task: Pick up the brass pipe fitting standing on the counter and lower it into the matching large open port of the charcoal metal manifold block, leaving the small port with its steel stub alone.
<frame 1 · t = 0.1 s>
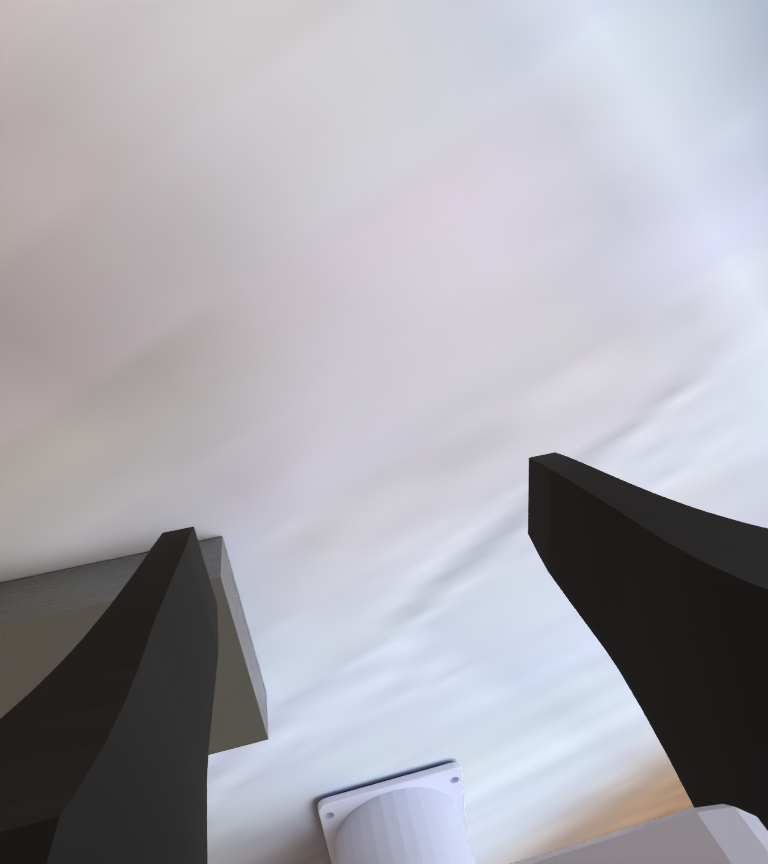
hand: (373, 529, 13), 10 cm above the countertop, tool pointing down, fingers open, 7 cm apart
manifold: (50, 665, 24), on the countertop
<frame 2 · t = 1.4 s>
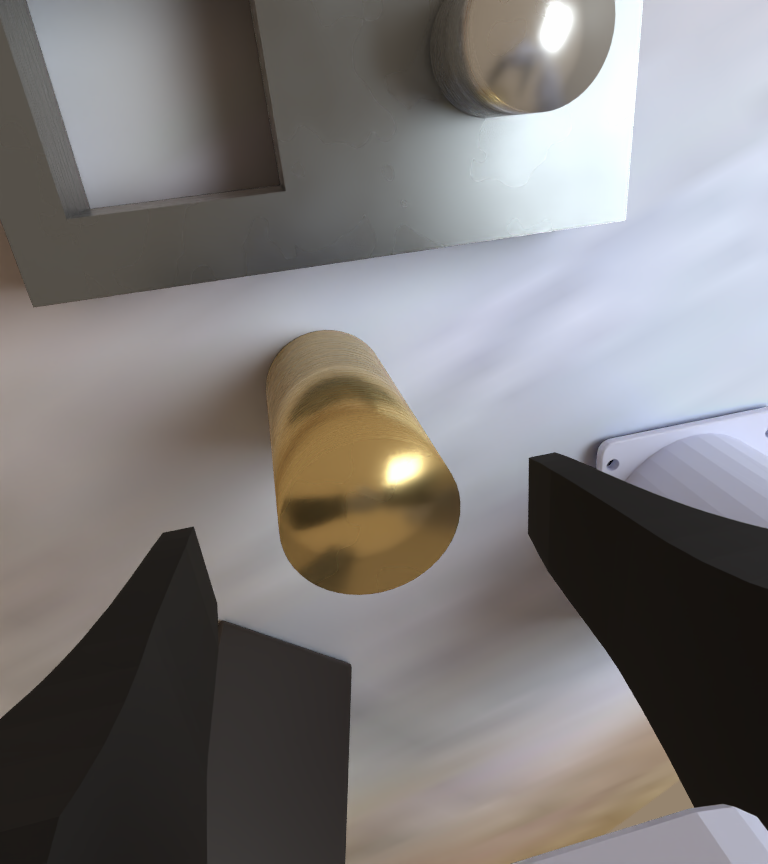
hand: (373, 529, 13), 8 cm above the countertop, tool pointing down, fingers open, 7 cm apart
manifold: (314, 74, 16), on the countertop
phone stand: (235, 708, 26), on the countertop
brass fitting: (326, 388, 20), on the countertop
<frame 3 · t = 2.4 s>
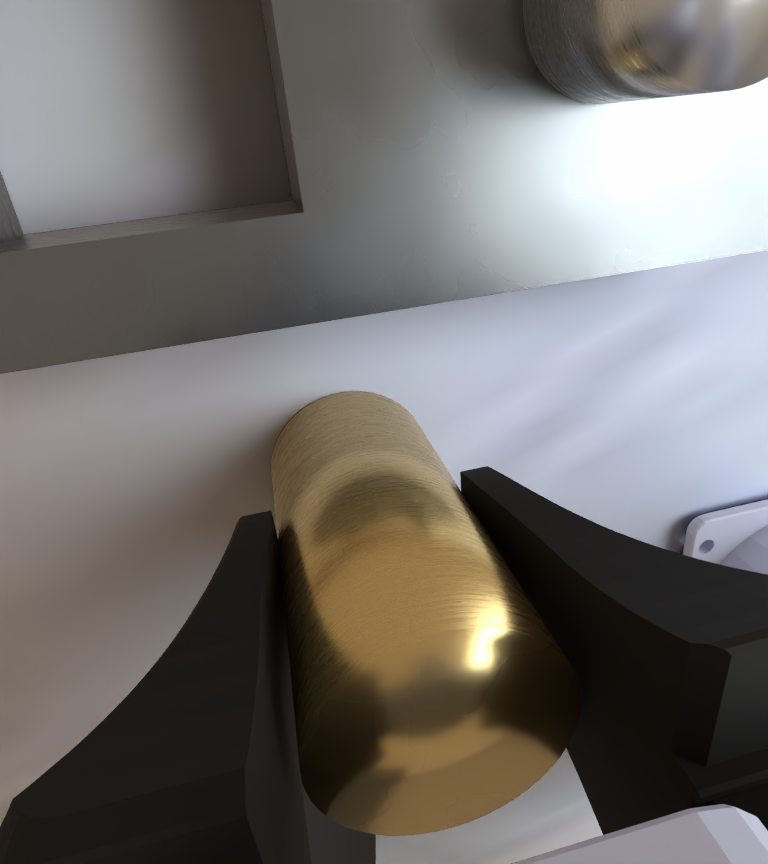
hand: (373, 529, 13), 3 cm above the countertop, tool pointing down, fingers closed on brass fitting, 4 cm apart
manifold: (342, 43, 11), on the countertop
phone stand: (232, 836, 21), on the countertop
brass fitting: (350, 464, 15), on the countertop, touching gripper
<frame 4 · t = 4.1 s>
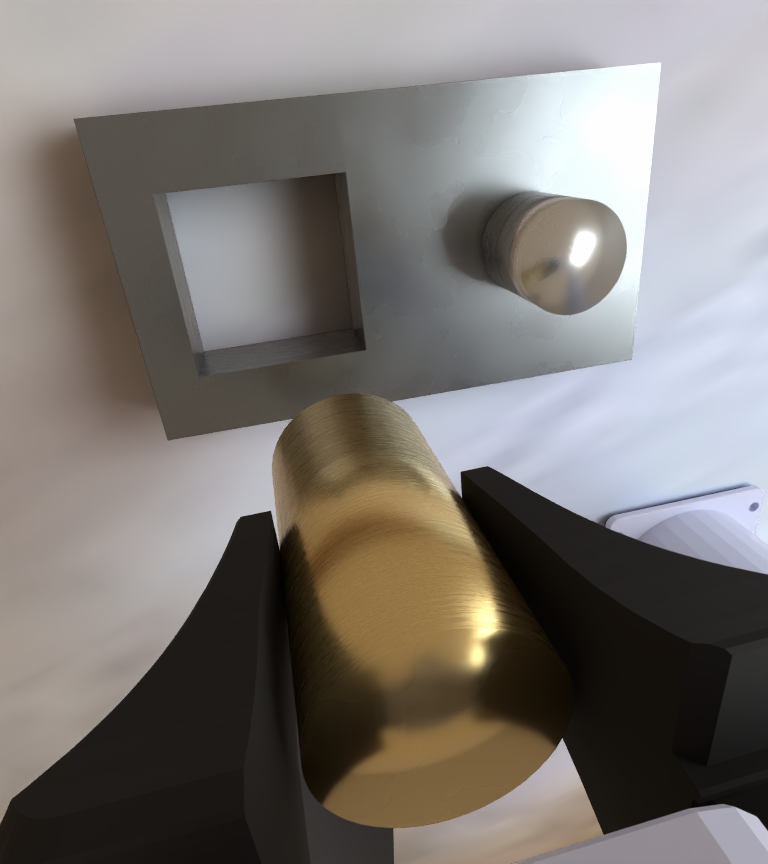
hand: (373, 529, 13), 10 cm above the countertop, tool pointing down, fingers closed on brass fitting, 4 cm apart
manifold: (385, 248, 20), on the countertop
phone stand: (290, 739, 30), on the countertop
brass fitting: (350, 464, 15), point 7 cm above the countertop, touching gripper
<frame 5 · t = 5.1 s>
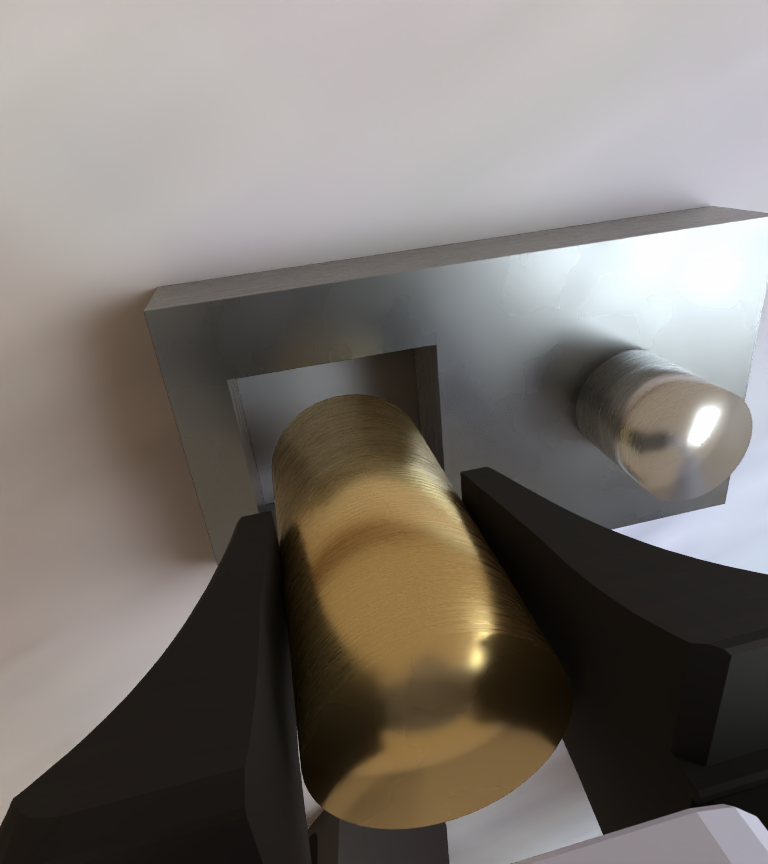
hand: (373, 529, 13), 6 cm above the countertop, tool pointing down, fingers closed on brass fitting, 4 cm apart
manifold: (461, 392, 18), on the countertop
phone stand: (339, 861, 28), on the countertop
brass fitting: (349, 465, 15), point 3 cm above the countertop, touching gripper
when the fingers open (4 cm above the countertop, at t = 5.8 s): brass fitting drops 1 cm, resting in manifold.
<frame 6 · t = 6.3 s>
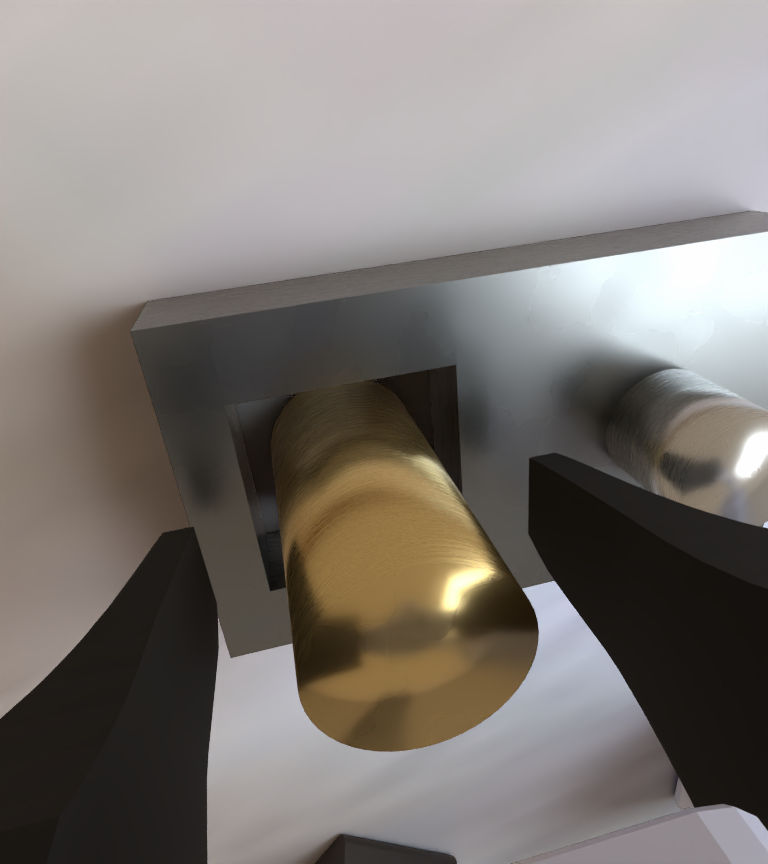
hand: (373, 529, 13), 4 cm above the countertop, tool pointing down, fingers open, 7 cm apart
manifold: (479, 412, 17), on the countertop
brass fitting: (343, 443, 17), resting in manifold
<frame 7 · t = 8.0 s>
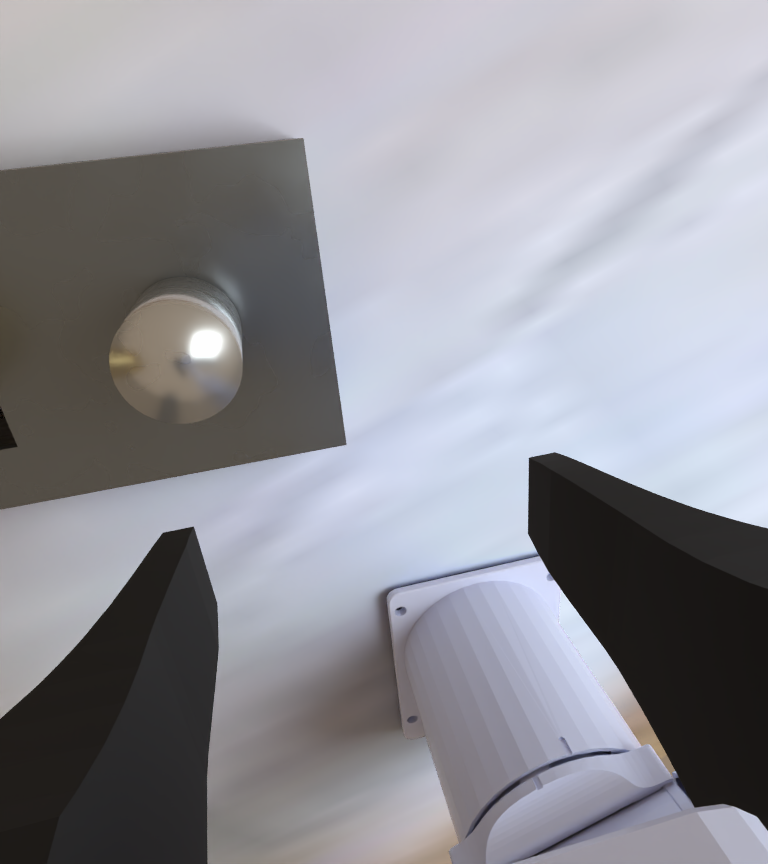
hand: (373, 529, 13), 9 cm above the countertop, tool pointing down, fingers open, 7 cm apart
manifold: (60, 328, 18), on the countertop
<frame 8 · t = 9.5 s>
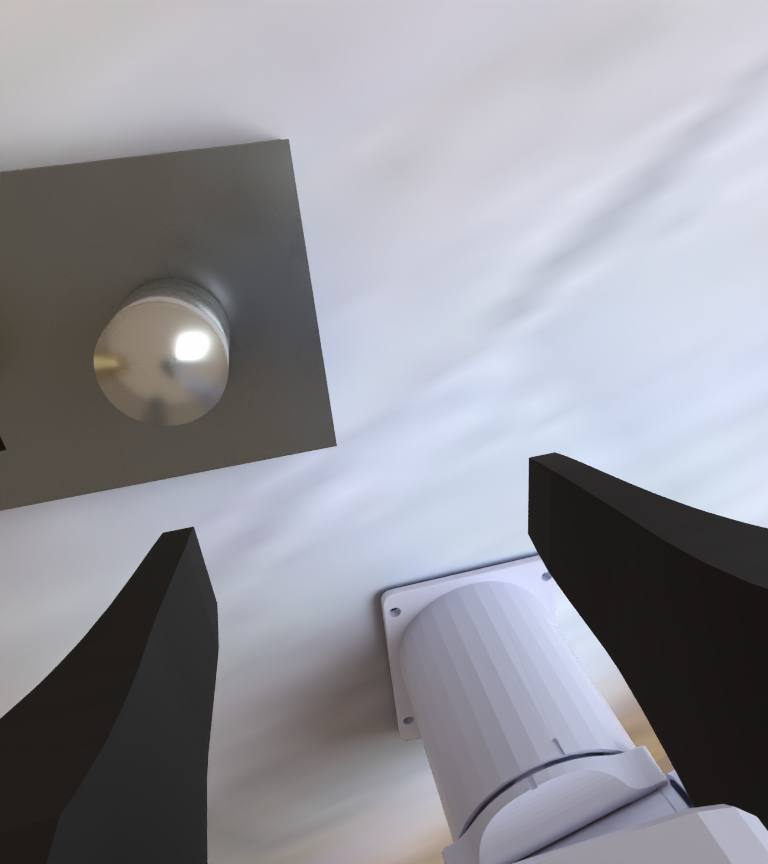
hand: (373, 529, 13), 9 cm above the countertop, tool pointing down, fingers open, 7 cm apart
manifold: (49, 331, 18), on the countertop
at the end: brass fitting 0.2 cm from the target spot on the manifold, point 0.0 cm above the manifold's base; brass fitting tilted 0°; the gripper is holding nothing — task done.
